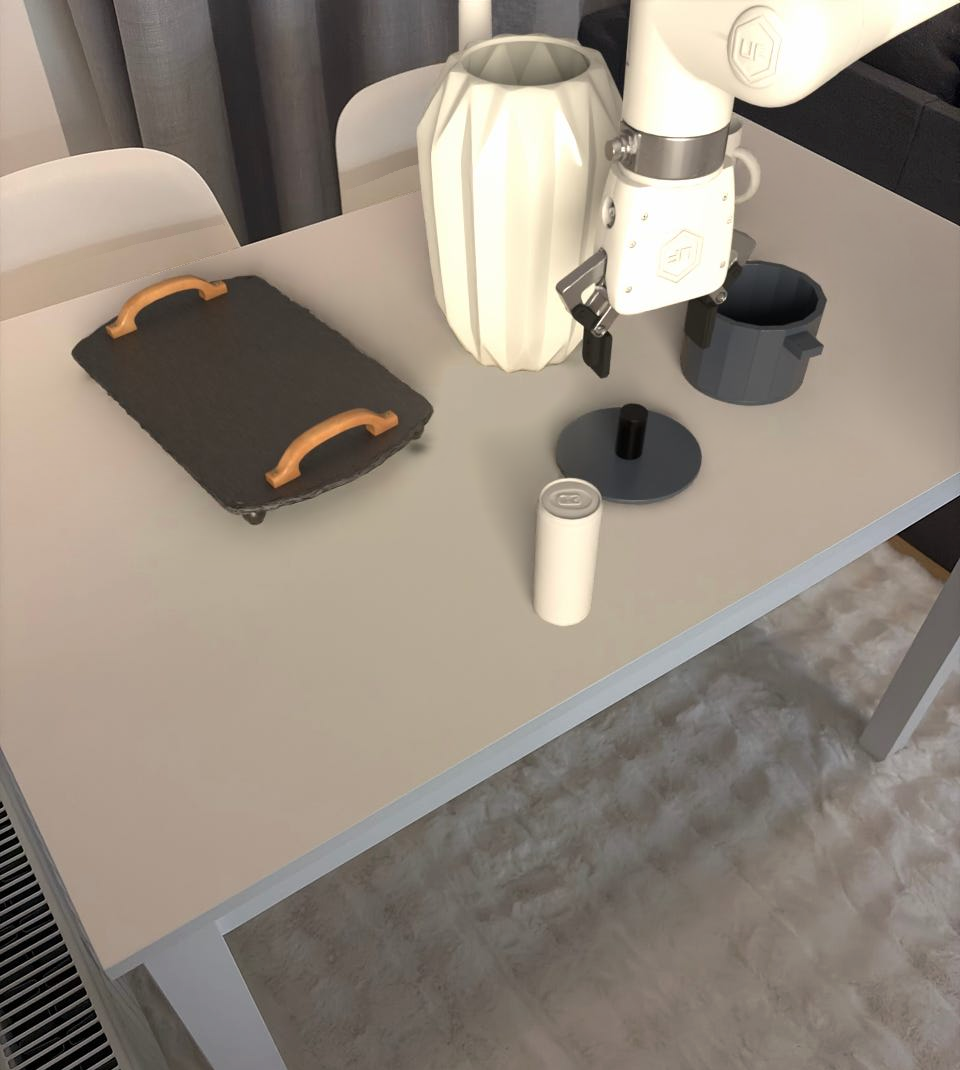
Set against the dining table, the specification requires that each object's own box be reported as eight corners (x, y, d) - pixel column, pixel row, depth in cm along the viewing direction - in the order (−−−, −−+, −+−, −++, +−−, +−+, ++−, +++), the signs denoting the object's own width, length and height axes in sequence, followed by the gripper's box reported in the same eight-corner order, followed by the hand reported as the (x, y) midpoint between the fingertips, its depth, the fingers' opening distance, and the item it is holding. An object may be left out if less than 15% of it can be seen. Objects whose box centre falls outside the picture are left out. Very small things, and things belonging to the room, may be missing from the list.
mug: (643, 208, 120) (653, 125, 113) (678, 182, 125) (690, 100, 117) (733, 237, 116) (750, 153, 108) (766, 208, 120) (785, 125, 112)
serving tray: (62, 361, 101) (40, 308, 96) (248, 284, 110) (237, 232, 105) (255, 556, 82) (240, 503, 77) (461, 443, 91) (459, 389, 86)
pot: (744, 311, 105) (760, 237, 99) (845, 401, 95) (871, 325, 88) (645, 338, 102) (655, 264, 96) (738, 434, 92) (757, 358, 85)
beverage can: (592, 630, 76) (606, 521, 67) (532, 630, 76) (538, 521, 67) (589, 586, 79) (601, 476, 70) (531, 586, 79) (536, 476, 70)
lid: (653, 402, 95) (660, 353, 91) (728, 484, 87) (740, 435, 83) (531, 437, 92) (532, 389, 87) (597, 526, 84) (603, 478, 79)
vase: (429, 399, 96) (410, 110, 74) (429, 295, 108) (413, 21, 87) (620, 394, 96) (657, 103, 75) (599, 291, 108) (624, 16, 87)
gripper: (589, 190, 63) (576, 406, 76) (806, 139, 67) (758, 352, 80) (539, 147, 67) (535, 358, 80) (746, 102, 71) (710, 309, 84)
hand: (647, 354), depth 80 cm, fingers open, 9 cm apart
